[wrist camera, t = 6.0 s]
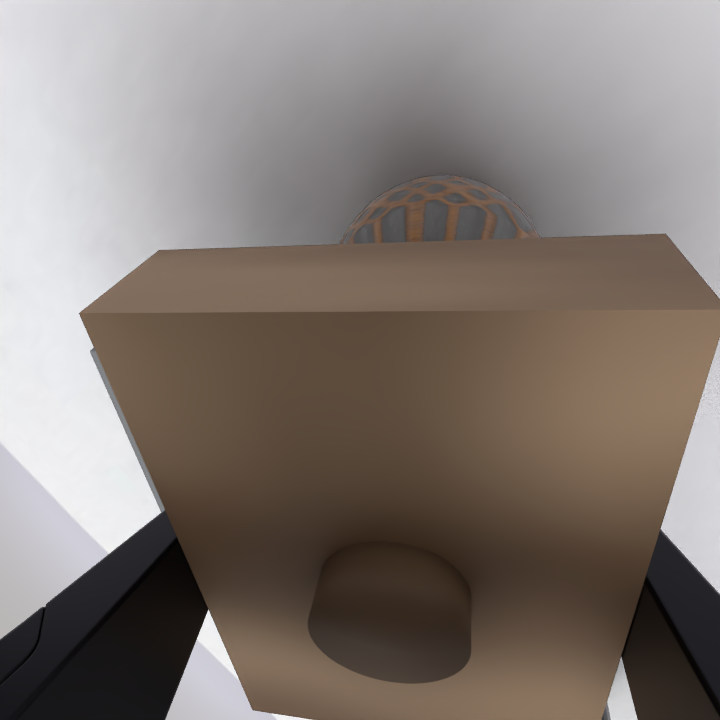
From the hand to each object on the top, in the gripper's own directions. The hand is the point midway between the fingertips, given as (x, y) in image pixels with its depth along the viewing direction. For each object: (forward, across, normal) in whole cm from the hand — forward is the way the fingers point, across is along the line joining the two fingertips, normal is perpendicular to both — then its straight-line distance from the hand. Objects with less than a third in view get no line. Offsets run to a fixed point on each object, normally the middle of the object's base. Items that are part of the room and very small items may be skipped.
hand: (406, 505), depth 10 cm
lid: (0, 0, 0) cm, 0 cm away
